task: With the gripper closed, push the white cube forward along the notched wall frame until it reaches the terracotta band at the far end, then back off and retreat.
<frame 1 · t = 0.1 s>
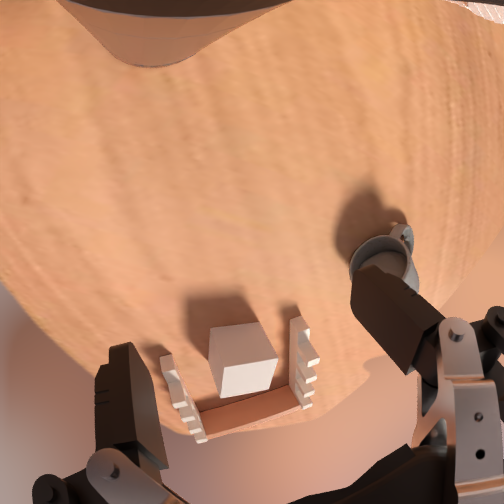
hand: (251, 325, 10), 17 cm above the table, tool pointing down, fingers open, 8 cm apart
ceramic mug: (376, 252, 37), on the table
white cube: (232, 340, 36), on the table
notched wall frame: (240, 377, 41), on the table
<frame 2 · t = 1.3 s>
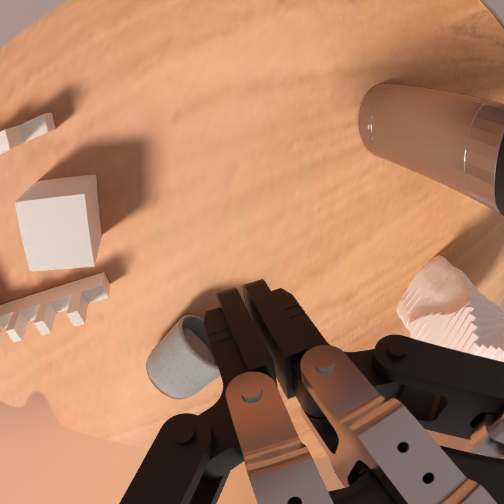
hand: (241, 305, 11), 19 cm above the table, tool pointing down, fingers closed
ceramic mug: (191, 339, 37), on the table
white cube: (69, 207, 25), on the table
notched wall frame: (5, 233, 23), on the table
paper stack: (422, 304, 52), on the table
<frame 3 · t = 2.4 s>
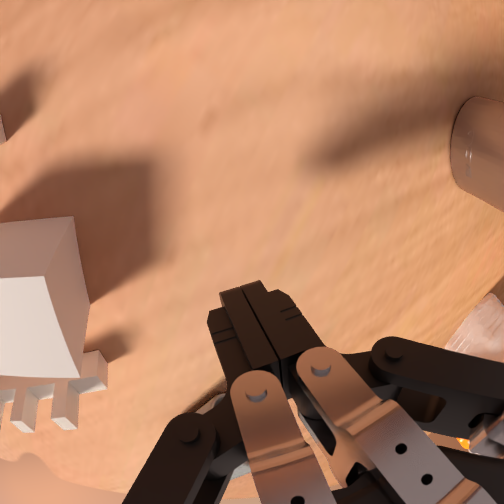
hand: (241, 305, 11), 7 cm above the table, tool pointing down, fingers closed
ceramic mug: (218, 413, 27), on the table
white cube: (38, 264, 15), on the table
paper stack: (464, 342, 42), on the table
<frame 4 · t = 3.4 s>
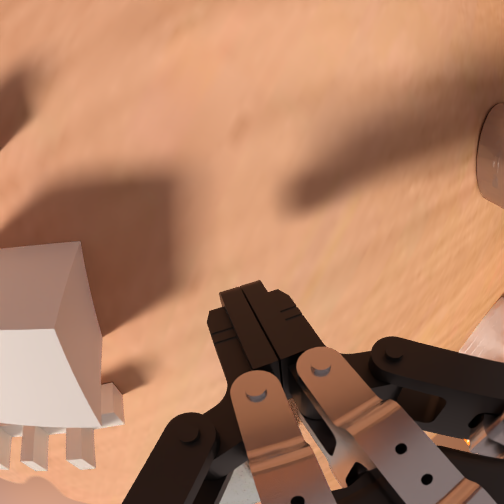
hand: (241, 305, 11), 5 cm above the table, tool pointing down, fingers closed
ceramic mug: (239, 434, 26), on the table
white cube: (41, 294, 13), on the table
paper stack: (475, 346, 41), on the table
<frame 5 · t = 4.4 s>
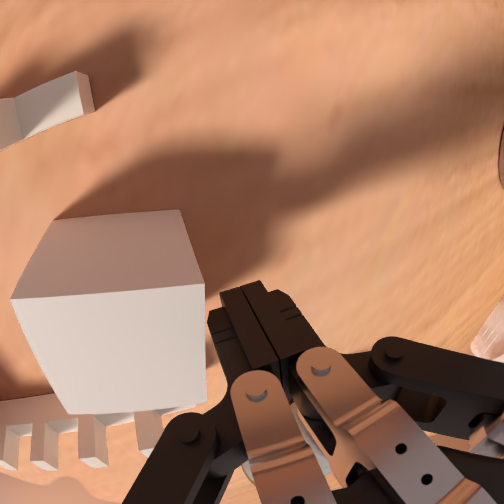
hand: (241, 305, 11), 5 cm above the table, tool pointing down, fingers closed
ceramic mug: (288, 417, 27), on the table
white cube: (121, 269, 14), on the table, touching gripper
notched wall frame: (0, 310, 12), on the table
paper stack: (488, 333, 42), on the table
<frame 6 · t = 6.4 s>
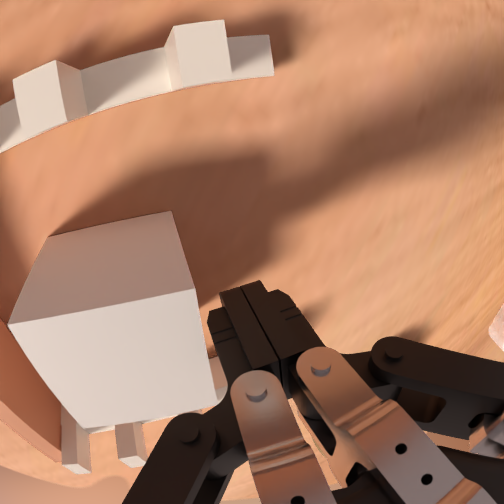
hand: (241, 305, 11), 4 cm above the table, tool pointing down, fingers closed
white cube: (121, 277, 14), on the table, touching gripper
notched wall frame: (96, 284, 13), on the table
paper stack: (502, 318, 44), on the table
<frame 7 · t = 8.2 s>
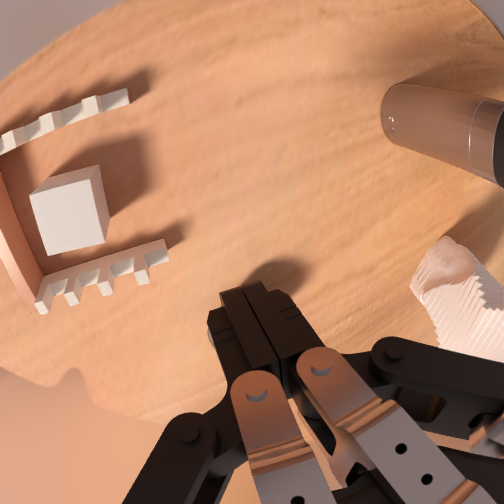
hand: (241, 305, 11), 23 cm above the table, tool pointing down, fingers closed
white cube: (78, 197, 28), on the table
notched wall frame: (67, 200, 27), on the table
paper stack: (431, 281, 57), on the table
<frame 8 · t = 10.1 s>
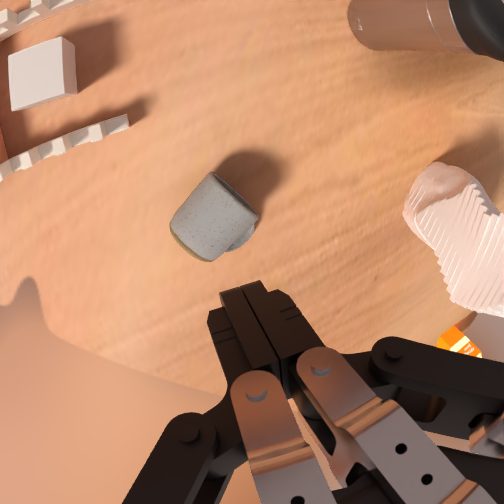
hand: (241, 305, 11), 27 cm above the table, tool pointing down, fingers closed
ceramic mug: (215, 211, 39), on the table
white cube: (52, 76, 24), on the table
notched wall frame: (41, 79, 23), on the table
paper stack: (427, 216, 53), on the table
orange juice: (443, 338, 86), on the table
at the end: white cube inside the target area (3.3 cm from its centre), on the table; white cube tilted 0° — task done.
